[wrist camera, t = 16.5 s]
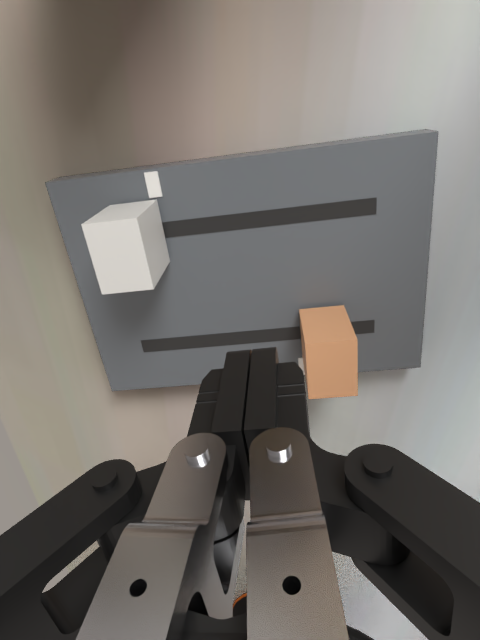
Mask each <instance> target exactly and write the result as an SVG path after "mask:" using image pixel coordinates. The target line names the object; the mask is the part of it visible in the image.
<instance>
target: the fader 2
mask: <svg viewBox="0 0 480 640" xmlns="http://www.w3.org/2000/svg"><path fill="white" fill-rule="evenodd" d="M299 316H300V330H301V344H302V358H303V365H304V372H305V378H306V384H307V391H308V397H309V399H318V398H332V397H346V396H358V339H357V337H356V334H355V332H354V329H353V327H352V324H351V322H350V319H349V317H348V314H347V312H346V309H345V307H344V305H340V306H329V307H318V308H307V309H299Z"/></svg>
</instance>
